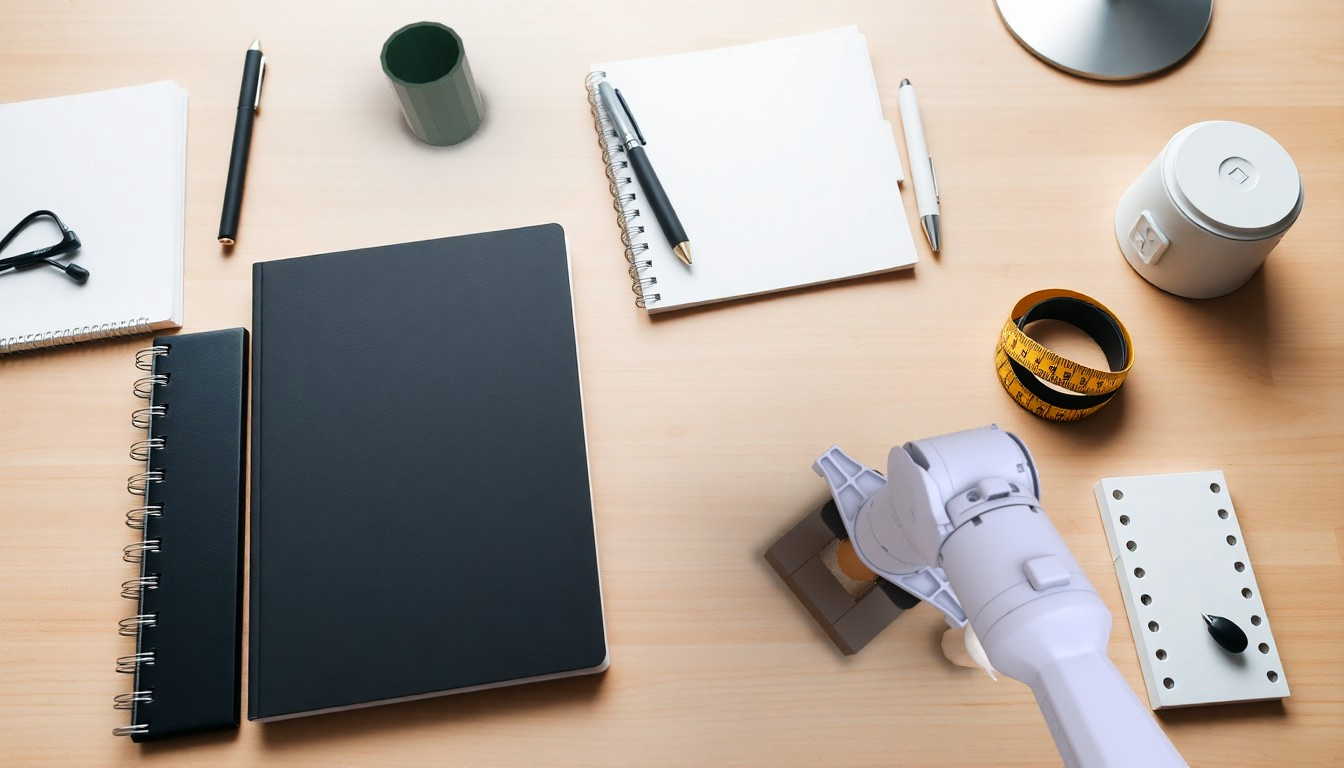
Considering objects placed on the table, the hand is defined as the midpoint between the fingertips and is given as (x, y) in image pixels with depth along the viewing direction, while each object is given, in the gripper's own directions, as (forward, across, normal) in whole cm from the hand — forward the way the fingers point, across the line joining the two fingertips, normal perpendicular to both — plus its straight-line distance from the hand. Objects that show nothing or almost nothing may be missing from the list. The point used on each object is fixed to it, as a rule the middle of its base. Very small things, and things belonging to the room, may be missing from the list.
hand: (866, 553), depth 65 cm
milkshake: (+7, -11, -2) cm, 13 cm away
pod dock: (+7, 0, 0) cm, 7 cm away
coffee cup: (+7, +62, +2) cm, 62 cm away
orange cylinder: (+2, 0, 0) cm, 2 cm away
